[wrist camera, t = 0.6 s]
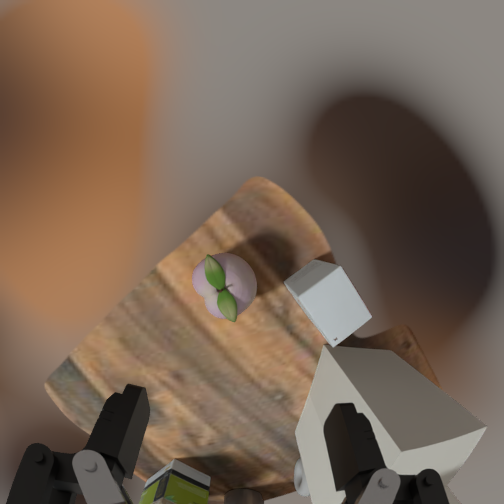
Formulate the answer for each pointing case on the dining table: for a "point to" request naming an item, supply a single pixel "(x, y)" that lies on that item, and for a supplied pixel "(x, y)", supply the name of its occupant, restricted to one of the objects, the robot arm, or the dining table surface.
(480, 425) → the two tier stand
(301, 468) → the donut
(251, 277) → the decorative fruit
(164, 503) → the tea box
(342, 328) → the small box
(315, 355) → the dining table surface
